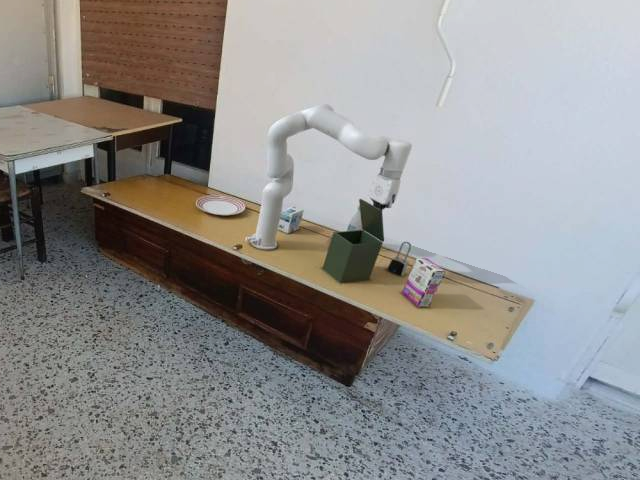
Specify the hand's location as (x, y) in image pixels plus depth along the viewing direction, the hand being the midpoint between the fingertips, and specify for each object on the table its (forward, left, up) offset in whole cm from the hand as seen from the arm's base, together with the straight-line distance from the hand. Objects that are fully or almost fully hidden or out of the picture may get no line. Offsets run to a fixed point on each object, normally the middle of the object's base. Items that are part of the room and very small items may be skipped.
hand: (375, 217), depth 187 cm
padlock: (+19, -3, -27) cm, 33 cm away
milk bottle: (+17, +25, -27) cm, 40 cm away
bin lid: (-2, 0, -2) cm, 2 cm away
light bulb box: (-5, +47, -27) cm, 54 cm away
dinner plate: (-30, +78, -27) cm, 88 cm away
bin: (-5, 0, -26) cm, 27 cm away
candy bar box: (+10, -24, -27) cm, 37 cm away
